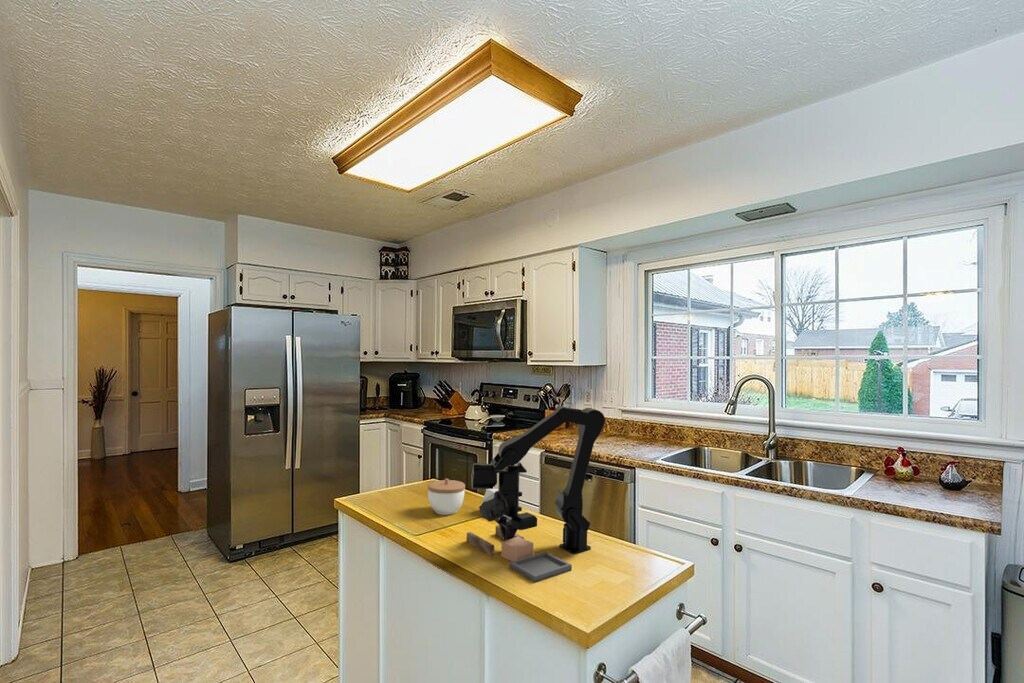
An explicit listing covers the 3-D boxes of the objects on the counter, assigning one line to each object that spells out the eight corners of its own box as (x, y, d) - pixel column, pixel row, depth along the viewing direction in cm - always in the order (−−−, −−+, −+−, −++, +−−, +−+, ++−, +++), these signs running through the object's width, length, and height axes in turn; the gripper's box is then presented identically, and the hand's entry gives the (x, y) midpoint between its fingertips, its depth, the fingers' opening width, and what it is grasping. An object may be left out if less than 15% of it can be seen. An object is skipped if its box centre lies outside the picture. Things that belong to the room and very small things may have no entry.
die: (497, 520, 165) (512, 494, 168) (475, 505, 167) (491, 480, 170) (497, 521, 173) (512, 497, 176) (476, 507, 174) (491, 483, 177)
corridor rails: (523, 546, 142) (523, 537, 142) (490, 555, 135) (490, 546, 135) (498, 533, 151) (498, 525, 151) (466, 541, 145) (466, 532, 145)
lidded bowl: (451, 519, 163) (452, 485, 163) (419, 513, 168) (420, 480, 169) (471, 509, 174) (472, 477, 174) (440, 503, 180) (441, 472, 180)
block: (533, 558, 134) (533, 542, 135) (516, 564, 130) (517, 548, 131) (517, 551, 139) (518, 536, 139) (501, 556, 135) (501, 541, 135)
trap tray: (571, 570, 127) (571, 564, 127) (534, 582, 120) (535, 576, 120) (545, 556, 135) (545, 551, 135) (509, 567, 128) (509, 562, 128)
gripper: (465, 484, 141) (464, 540, 141) (505, 501, 127) (503, 564, 126) (498, 479, 148) (496, 532, 148) (539, 494, 133) (537, 554, 133)
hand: (507, 545), depth 138 cm, fingers closed
